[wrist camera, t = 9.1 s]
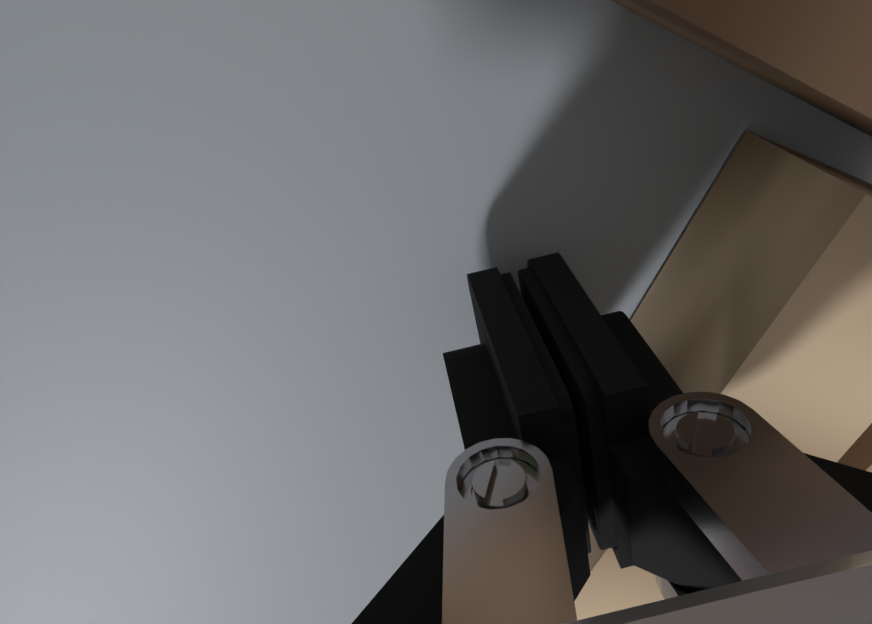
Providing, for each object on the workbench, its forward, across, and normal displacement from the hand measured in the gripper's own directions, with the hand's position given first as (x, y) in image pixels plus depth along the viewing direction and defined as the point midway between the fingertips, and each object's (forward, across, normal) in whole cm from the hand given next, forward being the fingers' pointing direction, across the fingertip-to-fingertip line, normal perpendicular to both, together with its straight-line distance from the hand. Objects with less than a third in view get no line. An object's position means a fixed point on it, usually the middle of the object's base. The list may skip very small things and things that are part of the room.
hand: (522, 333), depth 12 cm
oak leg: (0, -2, +3) cm, 4 cm away
